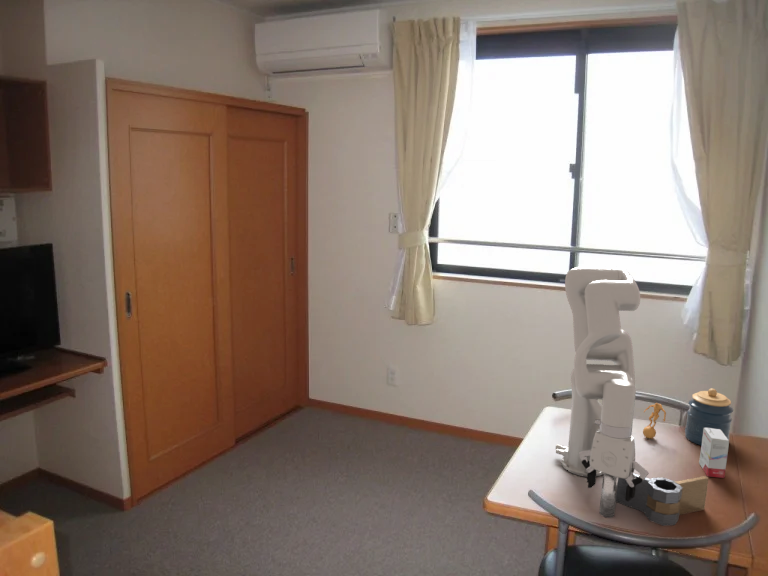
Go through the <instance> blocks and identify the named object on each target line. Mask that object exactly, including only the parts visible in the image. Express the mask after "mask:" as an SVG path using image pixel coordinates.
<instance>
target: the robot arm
mask: <svg viewBox="0 0 768 576" xmlns="http://www.w3.org/2000/svg"><path fill="white" fill-rule="evenodd" d="M564 280H565V281H564V288H565V289H564V290H565V294H566V298H567V301H568V304H569V307H570V309H571V313H572V320H573V321H572V322H573V323H572V325H573V342H574V352H575V356H574V361H573V368H572V371H571V374H570V384H571V385H570V386H571V388H570V389H571V409H570V410H571V411H570V421H569V422H570V423H569V435H568V446H564V445H562V444H559V443H557V444H556V445H555V453H556V454H558V455H562V456H563V457H562V459H561V466H562V467H563V469H564V470H566V471H567V470H568V471H567V472H569V473H570V474H573V475H576V476H581V477H584V478H585V477H586V483H587V488H588V489H592V488H593V487H594V486H595V485H596V479H597V477H600V476H602V475H603V473H606V474H609V475H612V476H615V477H618V478H622V479H626V481H627V482H628V484H629V485H628V486H627V488H626V498H625V500H626V501H629V500H630V499H631V498H634V496H635V487H636V485H637V484H639V483H641V482H642V481H643V480H644V479H645V478H647V477H648V475H649V471H648V470H647V469H646V468H644V467H643V466H642V465H640V463H638V462H637V461H636V444H635V438H634V436H633V435H632V434H633V423H634V422H633V421H634V413H635V402H636V392H637V389H636V374H635V373H636V372H635V362H634V349H633V342H632V337H631V336H630V334H629V333H628V331H626V330H624V329H622V326H621V315H620V312H634V311H636V310H637V309H638V308H639V307H640V303H641V292H640V288H639V286H638V283H637V282H636V280H635V279H634V278H633V276H632V275H631V274H630V273H629V272H628V271H627V269H624V268H621V267H606V266H604V267H603V266H576V267H574V268H571V269H569V270H568V271H567V273H566V275H565V279H564ZM587 361H599V362H600V361H602V362H612V363H613V364H603V363H602V364H601V363H600V364H599V363H587ZM599 400H601V402H602V403H601V402H600V401H599ZM635 471H636V472H637V473H638V474H639V475H640V476H639V477H637V478H636V477H635V475H634V474H635ZM633 473H634V474H633Z"/></svg>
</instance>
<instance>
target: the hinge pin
mask: <svg viewBox="0 0 768 576" xmlns="http://www.w3.org/2000/svg"><path fill="white" fill-rule="evenodd" d="M617 485H618V477H615V476H612V475H609V474H606V473H603V476H602V484H601V494H600V495H601V496H600V505H599V514H600V515H601V516H602V517H604V518H613V517H615V514H616V513H615V512H616V503H617V502H616V494H617Z"/></svg>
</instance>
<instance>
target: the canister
mask: <svg viewBox="0 0 768 576" xmlns="http://www.w3.org/2000/svg"><path fill="white" fill-rule="evenodd" d="M691 396H692V398H691V399H690V400H688V405H689V409H688V410H687V411H686V414H687V416H686V417H687V418H686V425H685V429H684V434H685V438H686V439H687V440H688V441H690V442H692V444H693V443H694V444H696V445H699V446H701V445H702V437H703V429H704V428H713V429H720V430H721V431H722V432H723V433H724V435H725V436H726V437H727V439H728V440H729V441H730V432H731V431H730V430H731V423H732V421H733V418H732V416H731V415H732V413H733V412H734V407H732V406H731V405H732V401H731V399H730V398H728V397H727V396H726V395H725V394H723V393H720V392H718V391H717V389H715V388H712V387H711V388H709V389H708V390H700V391H698V392H695V393H692V395H691Z"/></svg>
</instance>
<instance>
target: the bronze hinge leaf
mask: <svg viewBox="0 0 768 576" xmlns="http://www.w3.org/2000/svg"><path fill="white" fill-rule="evenodd" d="M674 481H675V480H674ZM675 482H676V483H678V484H679V485H680V486H681V487H682V496H681V499H680V501H679V502H678V503H667V504H665V503H663V502H660V501H657V500H654V499H652V498H651V497H650V495H649V494H648V497H647V506H648V507H649V508H651V509H652V510H653V511H655V512H658V513H662V514H667V515H671V514H676V513H679V516H680V515H686V514H690V513H695V512H699V511H704V510H705V507H706V498H707V493H708V492H707V491H708V487H709V485H708V484H709V477H708V476H707V475H703V476H699V477H698V476H697V477H692V478H687V479H682V480H677V481H675ZM679 509H680V512H679Z"/></svg>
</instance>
